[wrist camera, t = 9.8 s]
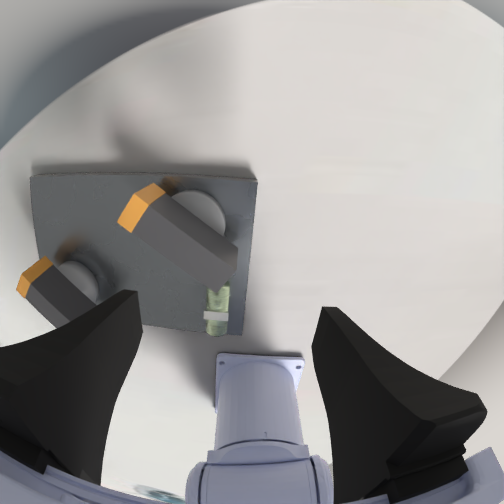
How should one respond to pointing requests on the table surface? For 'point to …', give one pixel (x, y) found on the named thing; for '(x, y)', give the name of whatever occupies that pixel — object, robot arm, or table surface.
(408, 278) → the table surface
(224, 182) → the plate
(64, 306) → the knob
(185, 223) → the knob
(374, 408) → the robot arm
